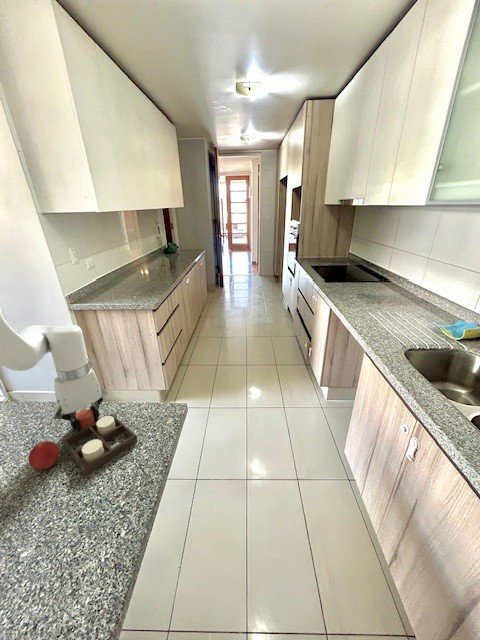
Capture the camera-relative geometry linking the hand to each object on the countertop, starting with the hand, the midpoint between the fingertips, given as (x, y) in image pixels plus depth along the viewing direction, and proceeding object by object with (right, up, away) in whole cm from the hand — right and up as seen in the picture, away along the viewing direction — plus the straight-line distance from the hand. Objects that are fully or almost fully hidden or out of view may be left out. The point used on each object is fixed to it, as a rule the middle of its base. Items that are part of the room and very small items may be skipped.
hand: (86, 423), depth 76 cm
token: (+8, -1, -3) cm, 8 cm away
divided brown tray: (+8, -4, -7) cm, 11 cm away
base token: (+9, -4, -11) cm, 15 cm away
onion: (-2, -6, -12) cm, 14 cm away
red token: (0, -1, 0) cm, 1 cm away
